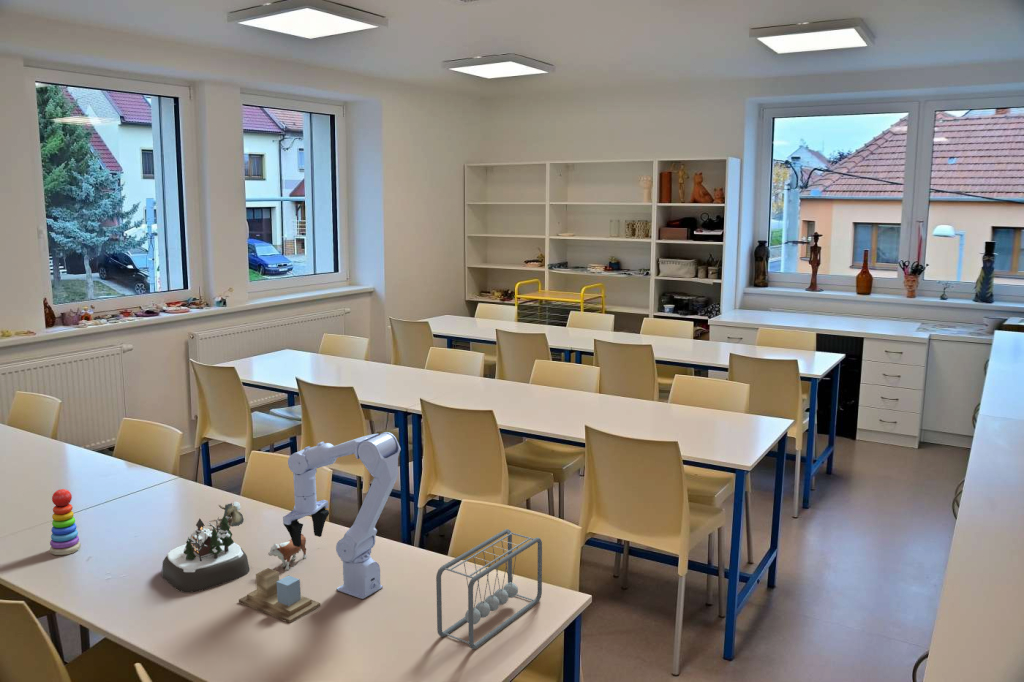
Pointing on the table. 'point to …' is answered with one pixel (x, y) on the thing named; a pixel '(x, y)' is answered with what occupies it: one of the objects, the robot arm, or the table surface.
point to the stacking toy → (63, 525)
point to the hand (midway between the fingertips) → (307, 540)
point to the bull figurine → (288, 551)
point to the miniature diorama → (205, 560)
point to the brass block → (267, 582)
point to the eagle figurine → (233, 513)
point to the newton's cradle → (497, 597)
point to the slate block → (288, 590)
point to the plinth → (279, 606)
